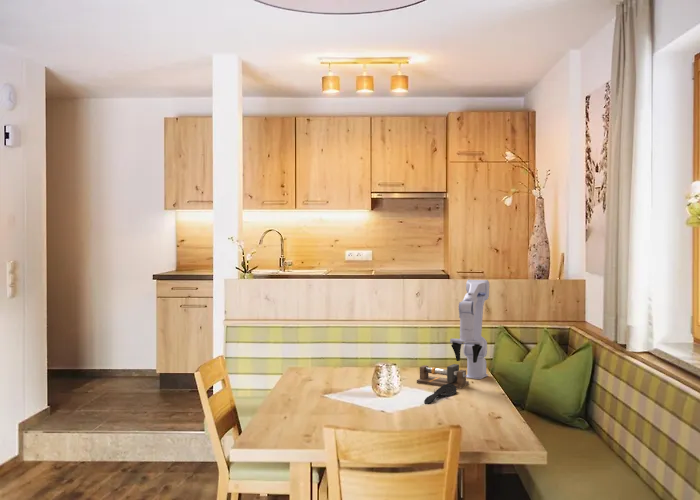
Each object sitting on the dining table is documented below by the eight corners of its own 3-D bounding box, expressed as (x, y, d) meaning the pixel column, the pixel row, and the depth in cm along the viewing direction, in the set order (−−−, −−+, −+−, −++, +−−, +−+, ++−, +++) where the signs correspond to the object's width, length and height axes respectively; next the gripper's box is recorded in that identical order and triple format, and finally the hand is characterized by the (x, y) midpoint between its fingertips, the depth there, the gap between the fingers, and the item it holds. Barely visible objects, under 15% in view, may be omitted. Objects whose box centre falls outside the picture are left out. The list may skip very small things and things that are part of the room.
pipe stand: (427, 378, 302) (427, 364, 301) (468, 384, 290) (468, 369, 290) (416, 382, 293) (416, 368, 293) (458, 388, 282) (458, 373, 282)
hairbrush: (416, 396, 260) (441, 380, 282) (416, 406, 261) (442, 389, 282) (435, 399, 256) (460, 382, 278) (436, 408, 256) (460, 391, 278)
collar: (453, 379, 292) (453, 364, 292) (459, 379, 291) (458, 364, 291) (447, 382, 287) (447, 366, 287) (452, 382, 286) (452, 367, 285)
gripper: (447, 328, 286) (446, 361, 286) (479, 331, 278) (478, 364, 278) (454, 327, 292) (454, 359, 292) (485, 329, 284) (485, 362, 283)
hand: (466, 361), depth 285 cm, fingers open, 7 cm apart
